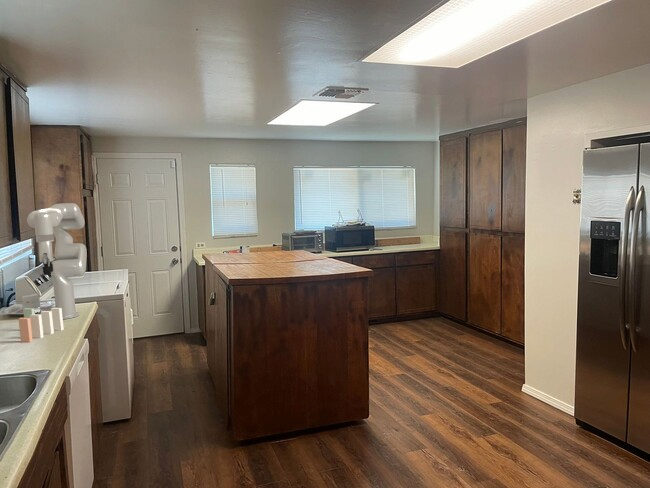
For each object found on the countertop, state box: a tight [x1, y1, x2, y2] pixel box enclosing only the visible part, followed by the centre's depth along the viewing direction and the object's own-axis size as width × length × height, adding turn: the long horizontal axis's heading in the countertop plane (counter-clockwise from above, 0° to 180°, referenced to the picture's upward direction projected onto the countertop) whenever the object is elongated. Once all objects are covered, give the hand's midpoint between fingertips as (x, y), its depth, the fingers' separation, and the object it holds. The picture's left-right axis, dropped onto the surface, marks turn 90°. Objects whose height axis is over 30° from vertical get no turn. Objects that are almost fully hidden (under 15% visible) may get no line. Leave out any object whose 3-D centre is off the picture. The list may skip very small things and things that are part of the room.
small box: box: [20, 293, 41, 310], centre depth 278 cm, size 8×6×10 cm
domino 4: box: [40, 310, 55, 335], centre depth 234 cm, size 2×5×11 cm, turn 76°
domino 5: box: [50, 307, 65, 332], centre depth 240 cm, size 2×5×11 cm, turn 76°
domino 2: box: [18, 317, 34, 343], centre depth 222 cm, size 2×5×11 cm, turn 75°
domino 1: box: [22, 308, 35, 318], centre depth 242 cm, size 2×5×11 cm, turn 76°
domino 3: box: [30, 313, 44, 339], centre depth 228 cm, size 2×5×11 cm, turn 76°
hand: (48, 273), depth 238 cm, fingers open, 9 cm apart
